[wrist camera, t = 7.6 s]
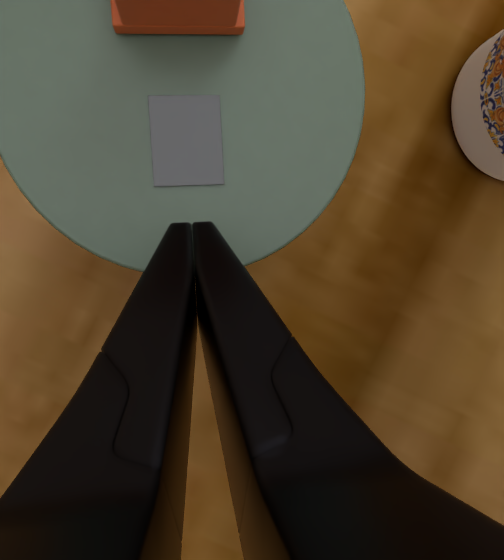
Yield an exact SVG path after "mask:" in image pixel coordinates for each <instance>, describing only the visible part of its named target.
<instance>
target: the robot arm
mask: <svg viewBox="0 0 504 560" xmlns="http://www.w3.org/2000/svg"><path fill="white" fill-rule="evenodd" d="M192 236H193V240H192ZM193 253H194V256H193ZM194 269H195V273H194ZM195 286H196V290H195ZM196 302H197V306H196ZM197 317H198V327H199V333H200V338H201V343H202V348H203V353H204V359H205V364H206V369H207V374H208V379H209V384H210V389H211V394H212V399H213V404H214V409H215V415H216V420H217V425H218V430H219V435H220V440H221V445H222V450H223V455H224V460H225V465H226V471H227V476H228V481H229V486H230V491H231V496H232V501H233V506H234V511H235V516H236V521H237V526H238V532H239V533H240V536H239V537H240V542H241V547H242V552H243V557H244V560H504V526H503V525H502V524H500V523H498V522H497V521H495V520H493V519H492V518H490V517H488V516H486V515H485V514H483V513H481V512H480V511H478V510H476V509H475V508H473V507H471V506H470V505H468V504H466V503H464V502H463V501H461V500H459V499H458V498H456V497H454V496H453V495H451V494H449V493H448V492H446V491H444V490H442V489H441V488H439V487H437V486H436V485H434V484H432V483H431V482H429V481H427V480H426V479H424V478H422V477H421V476H419V475H418V474H416V473H415V472H414V471H412V470H411V469H410V468H408V467H407V466H406V465H405V464H404V463H402V462H401V461H400V460H399V459H398V458H397V457H396V456H395V455H394V454H393V453H392V452H391V451H390V450H389V449H388V448H387V447H386V446H385V445H384V444H383V443H382V442H381V441H380V439H379V438H378V437H377V436H376V435H375V434H374V433H373V432H372V431H371V430H370V428H369V427H368V426H367V425H366V424H365V423H364V422H363V421H362V420H361V418H360V417H359V416H358V415H357V414H356V413H355V412H354V411H353V410H352V409H351V407H350V406H349V405H348V404H347V403H346V402H345V401H344V400H343V399H342V397H341V396H340V395H339V394H338V393H337V392H336V391H335V390H334V388H333V387H332V386H331V385H330V384H329V383H328V381H327V380H326V379H325V378H324V377H323V376H322V374H321V373H320V372H319V371H318V369H317V368H316V367H315V365H314V364H313V363H312V361H311V360H310V359H309V357H308V356H307V355H306V353H305V352H304V351H303V349H302V348H301V346H300V345H299V344H298V342H297V341H296V339H295V338H294V337H291V336H292V334H291V333H290V331H289V330H288V328H287V327H286V325H285V324H284V323H283V321H282V320H281V318H280V317H279V315H278V314H277V313H276V311H275V310H274V308H273V307H272V305H271V304H270V303H269V301H268V300H267V298H266V297H265V295H264V294H263V293H262V291H261V290H260V288H259V287H258V286H257V284H256V283H255V281H254V280H253V278H252V277H251V276H250V274H249V273H248V271H247V270H246V268H245V267H244V266H243V264H242V263H241V261H240V260H239V258H238V257H237V256H236V254H235V253H234V251H233V250H232V249H231V247H230V246H229V244H228V243H227V241H226V240H225V239H224V237H223V236H222V234H221V233H220V231H219V230H218V229H217V227H216V226H215V224H214V223H213V222H211V221H201V222H194V223H193V224H192V225H191V223H189V222H178V223H171V224H170V225H169V227H168V229H167V230H166V232H165V234H164V236H163V238H162V239H161V241H160V243H159V245H158V247H157V248H156V250H155V252H154V254H153V256H152V257H151V259H150V261H149V263H148V265H147V267H146V268H145V270H144V272H143V274H142V276H141V277H140V279H139V281H138V283H137V285H136V286H135V288H134V290H133V292H132V294H131V296H130V297H129V299H128V301H127V303H126V305H125V306H124V308H123V310H122V312H121V314H120V315H119V317H118V319H117V321H116V323H115V325H114V326H113V328H112V330H111V332H110V334H109V335H108V337H107V339H106V341H105V343H104V344H103V346H102V348H101V350H102V352H99V353H98V355H97V357H96V359H95V360H94V362H93V364H92V366H91V368H90V369H89V371H88V373H87V374H86V376H85V378H84V379H83V381H82V383H81V384H80V386H79V388H78V390H77V391H76V393H75V394H74V396H73V397H72V399H71V400H70V402H69V403H68V405H67V406H66V408H65V409H64V411H63V412H62V414H61V415H60V416H59V418H58V419H57V421H56V422H55V424H54V425H53V426H52V428H51V429H50V431H49V432H48V433H47V435H46V436H45V437H44V439H43V440H42V442H41V443H40V444H39V446H38V447H37V449H36V450H35V451H34V453H33V454H32V456H31V457H30V458H29V460H28V461H27V462H26V464H25V465H24V467H23V468H22V469H21V471H20V472H19V474H18V475H17V476H16V478H15V479H14V481H13V482H12V483H11V485H10V486H9V487H8V489H7V490H6V491H5V493H4V494H3V495H2V497H1V498H0V560H181V548H182V543H181V541H182V533H183V520H184V506H185V492H186V478H187V464H188V451H189V437H190V423H191V409H192V395H193V382H194V368H195V354H196V340H197Z"/></svg>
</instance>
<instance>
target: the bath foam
mask: <svg viewBox="0 0 504 560" xmlns="http://www.w3.org/2000/svg"><path fill="white" fill-rule="evenodd" d="M451 116H452V124H453V129H454V132H455V136H456V138H457V141H458V143H459V145H460V147H461V149H462V150H463V152H464V154H465V155H466V156H467V158H468V159H469V160H470V161H471V162H472V163H473V164H474V165H475V166H476V167H477V168H478V169H480V170H481V171H482V172H484V173H486V174H487V175H489V176H491V177H493V178H496V179H499V180H502V181H504V29H503V30H502V31H500V32H499V33H497V34H496V35H494V36H493V37H492V38H490V39H489V40H487V41H486V42H485V43H483V44H482V45H481V46H480V47H479V48H478V49H477V50H475V51H474V53H473V54H472V55H471V56H470V57H469V58H468V60H467V61H466V63H465V64H464V66H463V67H462V69H461V71H460V73H459V75H458V78H457V80H456V83H455V86H454V90H453V95H452V103H451Z"/></svg>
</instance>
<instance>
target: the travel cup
mask: <svg viewBox="0 0 504 560" xmlns="http://www.w3.org/2000/svg"><path fill="white" fill-rule="evenodd" d="M244 14H245V28H244V32H243V34H242V35H218V34H117V33H115V31H114V28H113V25H112V14H111V1H110V0H0V156H1V158H2V160H3V163H4V165H5V167H6V169H7V170H8V172H9V173H10V175H11V177H12V178H13V180H14V182H15V183H16V185H17V186H18V188H19V190H20V191H21V192H22V193H23V195H24V196H25V197H26V198H27V199H28V201H29V202H30V203H31V204H32V206H33V207H34V208H35V209H36V211H37V212H39V213H40V214H41V215H42V216H43V217H44V218H45V219H46V220H47V221H48V222H49V223H50V224H51V225H52V226H53V227H54V228H55V229H56V230H58V231H59V232H60V233H62V234H63V235H65V236H66V237H67V238H69V239H70V240H71V241H73V242H74V243H75V244H77V245H78V246H80V247H82V248H84V249H86V250H87V251H89V252H91V253H93V254H94V255H96V256H98V257H100V258H102V259H105V260H107V261H110V262H112V263H115V264H117V265H120V266H122V267H125V268H129V269H133V270H137V271H140V272H144V270H145V268H146V267H147V265H148V263H149V261H150V259H151V257H152V256H153V254H154V252H155V250H156V248H157V247H158V245H159V243H160V241H161V239H162V238H163V236H164V234H165V232H166V230H167V229H168V227H169V225H170V224H171V223H178V222H189V223H191V225H192V224H193V223H194V222H201V221H211V222H213V223H214V224H215V226H216V227H217V229H218V230H219V231H220V233H221V234H222V236H223V237H224V239H225V240H226V241H227V243H228V244H229V246H230V247H231V249H232V250H233V251H234V253H235V254H236V256H237V257H238V258H239V260H240V261H241V263H242V264H243V266H244V267H245V266H247V265H250V264H252V263H254V262H257V261H259V260H262V259H264V258H266V257H268V256H269V255H271V254H273V253H275V252H276V251H278V250H280V249H282V248H283V247H285V246H286V245H287V244H289V243H290V242H291V241H293V240H294V239H295V238H297V237H298V236H299V235H301V234H302V233H303V232H304V231H305V230H306V229H307V228H308V227H309V226H310V225H311V224H312V223H313V222H314V221H315V220H316V219H317V218H318V217H319V216H320V215H321V213H322V212H323V211H324V210H325V208H326V207H327V206H328V204H329V203H330V202H331V201H332V199H333V198H334V196H335V194H336V193H337V191H338V189H339V188H340V186H341V184H342V183H343V181H344V179H345V177H346V175H347V172H348V170H349V168H350V165H351V163H352V161H353V158H354V155H355V152H356V148H357V145H358V142H359V138H360V134H361V128H362V122H363V116H364V103H365V80H364V68H363V60H362V55H361V50H360V45H359V41H358V37H357V34H356V31H355V28H354V25H353V22H352V19H351V16H350V13H349V11H348V9H347V7H346V5H345V3H344V1H343V0H244ZM192 240H193V236H192ZM193 256H194V253H193ZM194 273H195V269H194Z"/></svg>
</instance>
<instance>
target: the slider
mask: <svg viewBox="0 0 504 560" xmlns="http://www.w3.org/2000/svg"><path fill="white" fill-rule="evenodd" d="M110 1H111V14H112V25H113V28H114V31H115V33H117V34H218V35H242V34H243V32H244V28H245V14H244V0H110Z"/></svg>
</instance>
